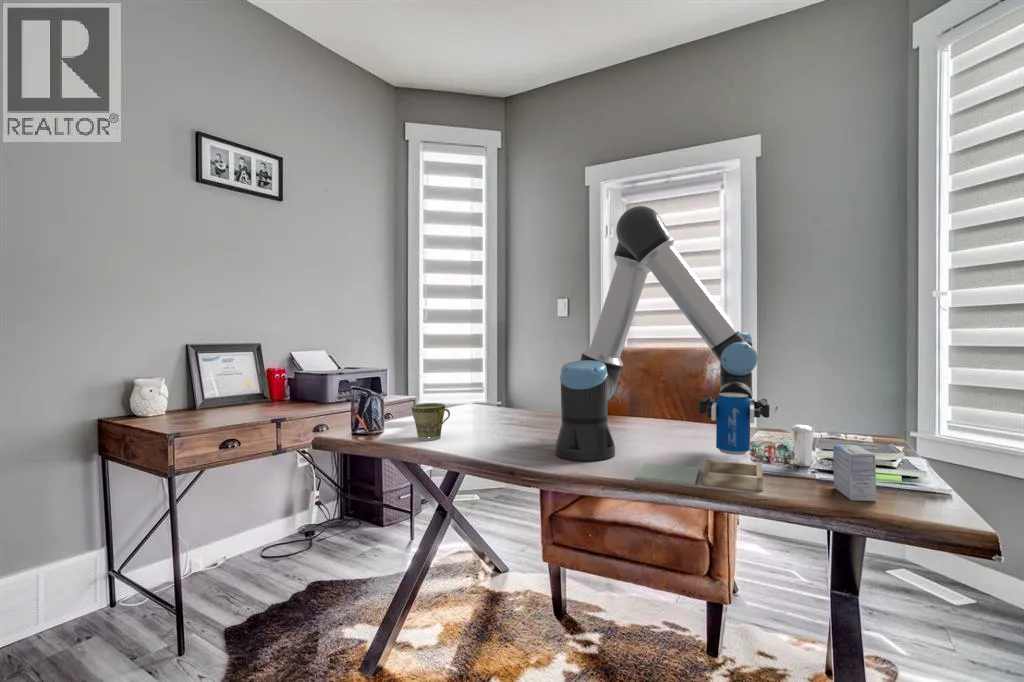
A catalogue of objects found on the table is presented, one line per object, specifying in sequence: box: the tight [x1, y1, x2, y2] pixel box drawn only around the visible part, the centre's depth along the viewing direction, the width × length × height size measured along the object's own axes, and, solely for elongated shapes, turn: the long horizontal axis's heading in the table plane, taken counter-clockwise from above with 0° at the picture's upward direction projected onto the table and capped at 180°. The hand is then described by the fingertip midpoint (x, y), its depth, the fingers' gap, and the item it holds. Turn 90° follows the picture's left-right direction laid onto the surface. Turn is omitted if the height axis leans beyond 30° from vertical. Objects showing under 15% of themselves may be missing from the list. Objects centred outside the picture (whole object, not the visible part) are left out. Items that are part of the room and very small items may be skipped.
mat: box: [635, 462, 701, 486], centre depth 117 cm, size 12×12×1 cm
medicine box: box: [832, 444, 877, 503], centre depth 101 cm, size 8×4×9 cm, turn 168°
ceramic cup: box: [411, 402, 451, 442], centre depth 159 cm, size 13×10×10 cm
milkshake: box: [790, 422, 817, 467], centre depth 122 cm, size 4×5×10 cm
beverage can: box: [715, 392, 751, 456], centre depth 111 cm, size 6×6×12 cm
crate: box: [702, 459, 764, 492], centre depth 111 cm, size 11×11×2 cm
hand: (732, 415), depth 106 cm, fingers closed on beverage can, 6 cm apart
